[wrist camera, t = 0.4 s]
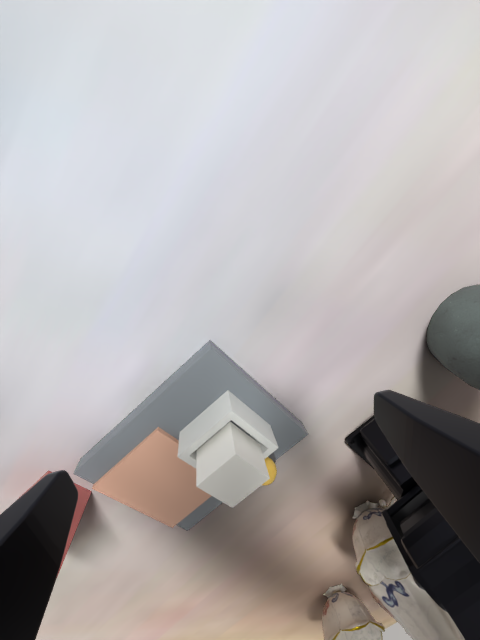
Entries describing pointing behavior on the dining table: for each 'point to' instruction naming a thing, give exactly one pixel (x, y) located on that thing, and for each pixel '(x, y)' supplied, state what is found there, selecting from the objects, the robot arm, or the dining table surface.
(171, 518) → the panel
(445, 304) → the bottle
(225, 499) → the block
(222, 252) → the dining table surface
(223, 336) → the dining table surface
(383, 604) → the chinaware
